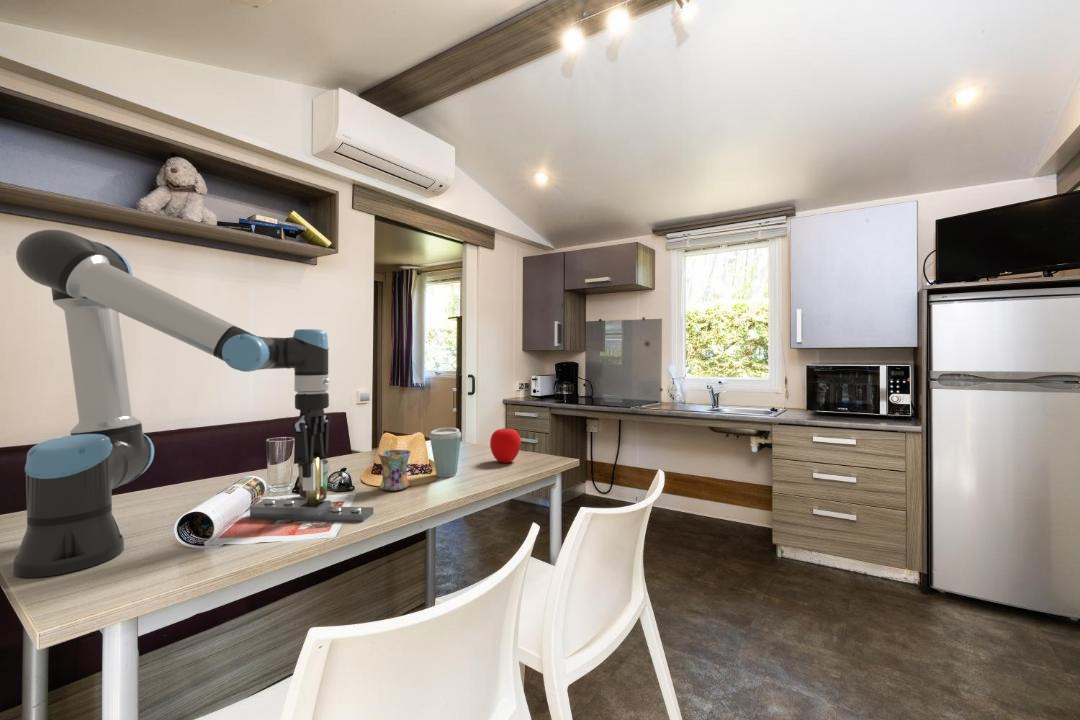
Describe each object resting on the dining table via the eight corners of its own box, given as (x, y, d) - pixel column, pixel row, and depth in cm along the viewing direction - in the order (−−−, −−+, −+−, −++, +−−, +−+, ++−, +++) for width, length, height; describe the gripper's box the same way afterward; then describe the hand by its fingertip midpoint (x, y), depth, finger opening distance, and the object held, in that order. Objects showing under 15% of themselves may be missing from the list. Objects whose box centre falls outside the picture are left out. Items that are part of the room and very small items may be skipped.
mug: (416, 488, 141) (416, 452, 140) (387, 494, 134) (387, 457, 134) (397, 480, 149) (396, 447, 149) (368, 486, 142) (368, 451, 142)
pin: (316, 509, 115) (315, 459, 115) (304, 508, 115) (303, 459, 115) (322, 505, 118) (321, 456, 118) (310, 505, 118) (309, 456, 118)
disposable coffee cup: (458, 479, 150) (458, 432, 150) (425, 479, 150) (424, 432, 150) (464, 471, 161) (464, 427, 161) (433, 471, 161) (432, 427, 161)
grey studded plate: (373, 513, 118) (373, 499, 118) (362, 521, 112) (362, 507, 112) (266, 511, 120) (265, 497, 120) (250, 519, 114) (249, 504, 114)
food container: (338, 499, 130) (338, 463, 130) (315, 504, 125) (315, 467, 125) (320, 490, 138) (319, 456, 138) (297, 495, 134) (297, 460, 134)
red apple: (486, 464, 170) (486, 429, 170) (494, 458, 181) (494, 424, 181) (517, 466, 168) (517, 430, 168) (523, 459, 179) (523, 425, 179)
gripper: (308, 395, 108) (309, 498, 108) (342, 390, 124) (343, 479, 124) (276, 395, 108) (278, 497, 109) (314, 390, 124) (315, 479, 124)
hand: (313, 487), depth 116 cm, fingers closed on pin, 3 cm apart
